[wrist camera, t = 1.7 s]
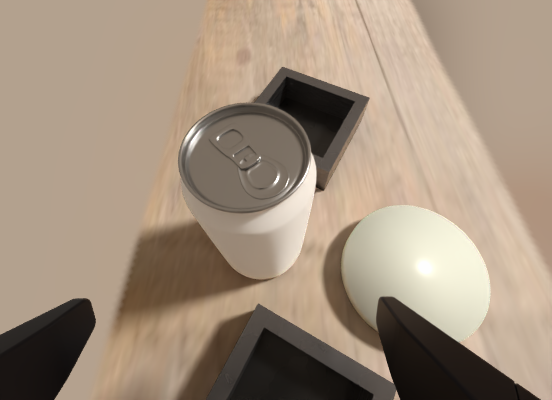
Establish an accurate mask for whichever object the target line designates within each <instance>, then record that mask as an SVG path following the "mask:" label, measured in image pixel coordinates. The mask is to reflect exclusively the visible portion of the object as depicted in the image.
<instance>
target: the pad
mask: <svg viewBox="0 0 552 400" xmlns="http://www.w3.org/2000/svg"><path fill="white" fill-rule="evenodd" d="M341 275H342V281H343V285H344V288H345V291H346V294H347V296H348V298H349V300H350V302H351V304H352V305H353V307H354V309H355V310H356V311H357V313H358V314H359V315H360V316H361V318H362V319H363V320H364V321H365V322H366V323H367V324H368V325H369V326H371V327H372V328H373V329H374V330H375V331H377V332H378V329H377V325H376V314H377V306H378V300H379V298H380V297H381V296H392V297H395V298H396V299H398V300H399V301H400V302H402V303H403V304H405V305H406V306H408V307H409V308H410V309H412V310H413V311H415V312H416V313H418V314H419V315H420V316H422V317H423V318H425V319H426V320H428V321H429V322H430V323H432V324H433V325H435V326H436V327H438V328H439V329H440V330H442V331H443V332H445V333H446V334H448V335H449V336H450V337H452V338H453V339H455V340H456V341H458V342H461V341H463V340H465V339H466V338H468V337H469V336H471V335H472V334H473V333H474V332H475V331H476V330H477V329H478V328H479V326H480V325H481V323H482V322H483V320H484V318H485V316H486V314H487V311H488V307H489V303H490V281H489V275H488V272H487V269H486V266H485V263H484V261H483V259H482V257H481V255H480V253H479V251H478V249H477V248H476V247H475V245H474V244H473V242H472V241H471V240H470V239H469V237H468V236H467V235H466V234H465V233H464V232H463V231H462V230H461V229H460V228H459V227H457V226H456V225H455V224H454V223H452V222H451V221H449V220H448V219H446V218H445V217H443V216H441V215H439V214H437V213H435V212H433V211H430V210H427V209H424V208H421V207H417V206H410V205H395V206H388V207H384V208H381V209H378V210H376V211H374V212H372V213H370V214H369V215H367V216H366V217H365V218H363V219H362V220H361V221H360V222H359V223H358V225H357V226H356V227H355V228H354V230H353V231H352V233H351V234H350V236H349V237H348V239H347V241H346V243H345V246H344V249H343V252H342V257H341ZM378 333H379V332H378Z"/></svg>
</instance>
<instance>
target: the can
mask: <svg viewBox="0 0 552 400" xmlns="http://www.w3.org/2000/svg"><path fill="white" fill-rule="evenodd" d="M178 166H179V172H180V176H181V188H182V193H183V196H184V199H185V201H186V204H187V206H188V208H189V209H190V211H191V212H192V214H193V216H194V217H195V218H196V220H197V221H198V223H199V224H200V225H201V227H202V228H203V230H204V231H205V232H206V234H207V235H208V236H209V238H210V239H211V241H212V242H213V243H214V245H215V246H216V247H217V249H218V250H219V251H220V253H221V254H222V255H223V257H224V258H225V259H226V261H227V262H228V263H229V264H230V265H231V267H232V268H233V269H235V270H236V271H237V272H239V273H240V274H242V275H244V276H246V277H249V278H253V279H269V278H274V277H277V276H279V275H281V274H283V273H284V272H286V271H287V270H288V269H289V268H290V267H291V266H292V265H293V264H294V262H295V261H296V259H297V258H298V256H299V254H300V251H301V248H302V245H303V241H304V237H305V232H306V228H307V224H308V220H309V215H310V211H311V206H312V202H313V197H314V192H315V186H316V165H315V160H314V157H313V155H312V152H311V146H310V142H309V139H308V136H307V134H306V132H305V130H304V129H303V127H302V126H301V125H300V124H299V123H298V121H297V120H295V119H294V118H293V117H292V116H291V115H289V114H288V113H286V112H284V111H282V110H280V109H278V108H276V107H273V106H270V105H266V104H261V103H237V104H232V105H228V106H224V107H221V108H219V109H216V110H214V111H212V112H210V113H208V114H207V115H205V116H204V117H202V118H201V119H200V120H199V121H197V122H196V123H195V124H194V125H193V126H192V127H191V129H190V130H189V131H188V133H187V134H186V136H185V137H184V139H183V141H182V144H181V147H180V150H179V156H178Z"/></svg>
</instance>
